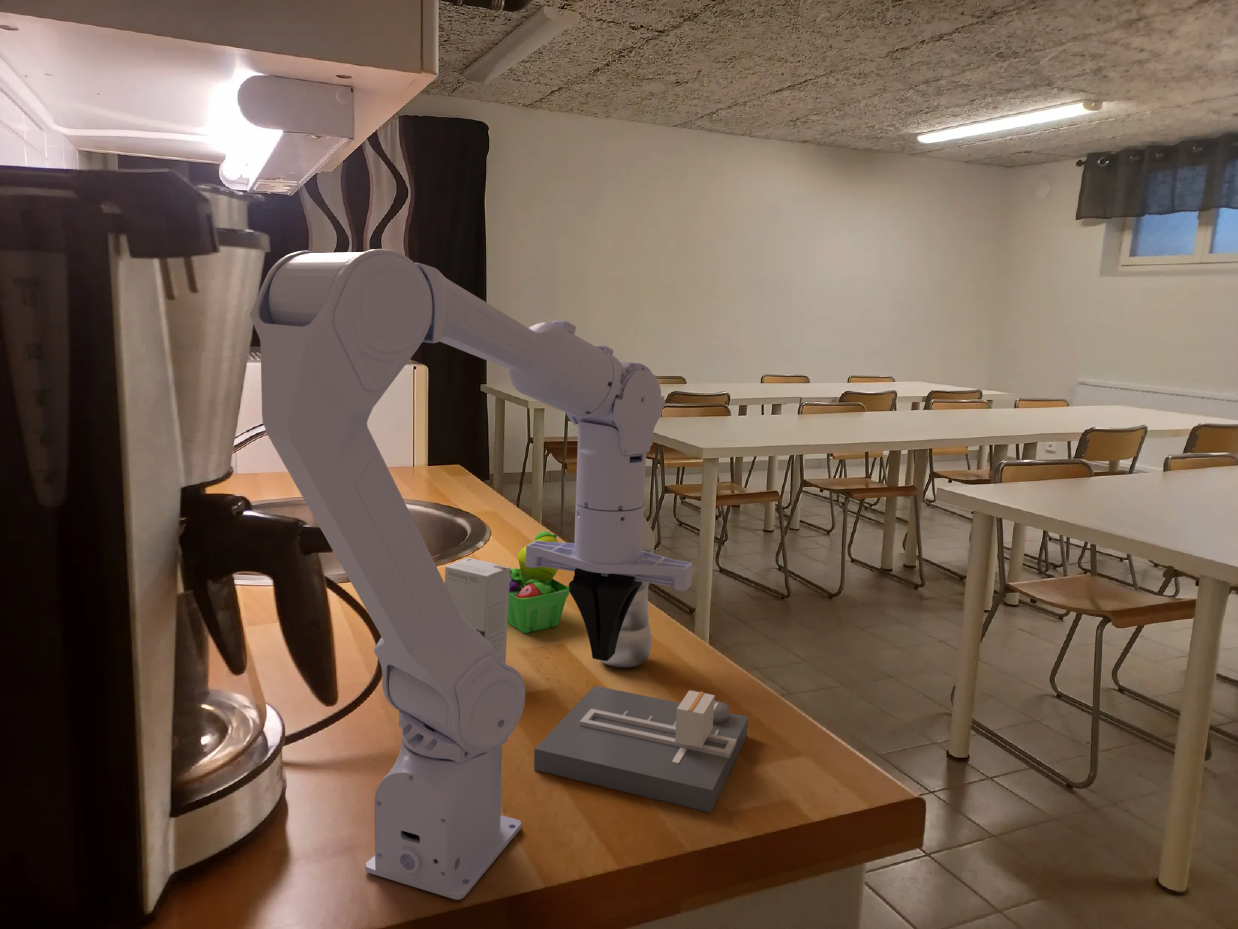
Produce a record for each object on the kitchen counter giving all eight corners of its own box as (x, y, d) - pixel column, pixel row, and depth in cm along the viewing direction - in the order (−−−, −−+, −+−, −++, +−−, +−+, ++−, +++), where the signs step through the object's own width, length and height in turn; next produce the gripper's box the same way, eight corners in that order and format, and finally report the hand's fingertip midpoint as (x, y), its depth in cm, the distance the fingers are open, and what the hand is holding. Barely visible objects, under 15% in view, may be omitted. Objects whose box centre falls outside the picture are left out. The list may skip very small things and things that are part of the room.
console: (712, 813, 70) (714, 778, 69) (534, 769, 75) (534, 737, 75) (747, 736, 83) (750, 706, 82) (593, 703, 88) (594, 675, 88)
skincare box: (440, 671, 95) (440, 565, 93) (466, 657, 99) (467, 556, 96) (484, 684, 92) (485, 576, 90) (509, 670, 96) (511, 565, 94)
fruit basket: (476, 611, 113) (477, 528, 111) (533, 600, 119) (535, 520, 117) (520, 639, 105) (521, 550, 103) (580, 626, 110) (583, 540, 108)
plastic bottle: (645, 677, 95) (654, 502, 92) (586, 670, 96) (592, 496, 93) (654, 655, 101) (663, 490, 98) (599, 648, 103) (605, 485, 99)
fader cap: (701, 752, 75) (703, 712, 74) (674, 746, 76) (676, 707, 75) (712, 731, 79) (714, 694, 78) (687, 726, 80) (689, 689, 79)
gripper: (705, 504, 73) (696, 653, 76) (551, 485, 78) (547, 626, 81) (682, 522, 67) (673, 685, 69) (515, 500, 72) (512, 653, 74)
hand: (603, 655), depth 75 cm, fingers closed
